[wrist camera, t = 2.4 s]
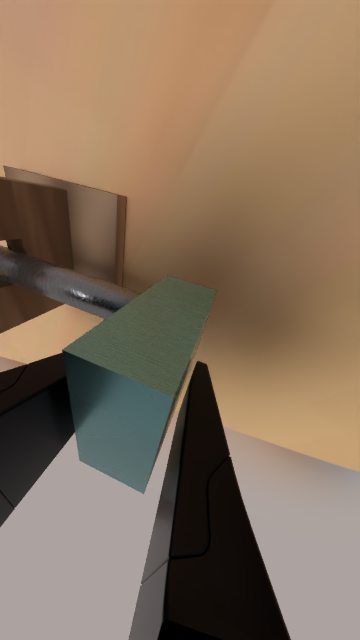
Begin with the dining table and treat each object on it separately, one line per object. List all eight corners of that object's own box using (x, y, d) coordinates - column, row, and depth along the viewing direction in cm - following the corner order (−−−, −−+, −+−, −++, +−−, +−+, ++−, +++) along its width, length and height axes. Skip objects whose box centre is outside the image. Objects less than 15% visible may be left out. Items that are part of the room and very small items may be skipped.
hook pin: (219, 283, 9) (173, 397, 3) (194, 356, 12) (143, 493, 6) (-52, 199, 12) (-343, 178, 6) (-25, 273, 15) (-210, 309, 9)
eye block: (126, 196, 14) (-83, 155, 5) (120, 311, 19) (12, 390, 10) (19, 169, 15) (-286, 100, 7) (40, 282, 21) (-114, 328, 12)
